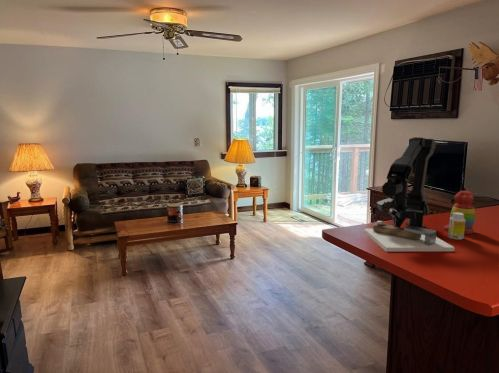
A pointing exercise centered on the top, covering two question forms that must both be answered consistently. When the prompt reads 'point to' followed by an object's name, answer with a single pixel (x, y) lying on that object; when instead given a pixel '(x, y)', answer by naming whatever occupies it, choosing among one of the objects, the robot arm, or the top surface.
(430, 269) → the top surface
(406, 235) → the brown wooden bar
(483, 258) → the top surface
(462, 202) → the stacking bear
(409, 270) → the top surface
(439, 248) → the board
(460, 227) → the supplement bottle
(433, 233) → the keeper
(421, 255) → the top surface
